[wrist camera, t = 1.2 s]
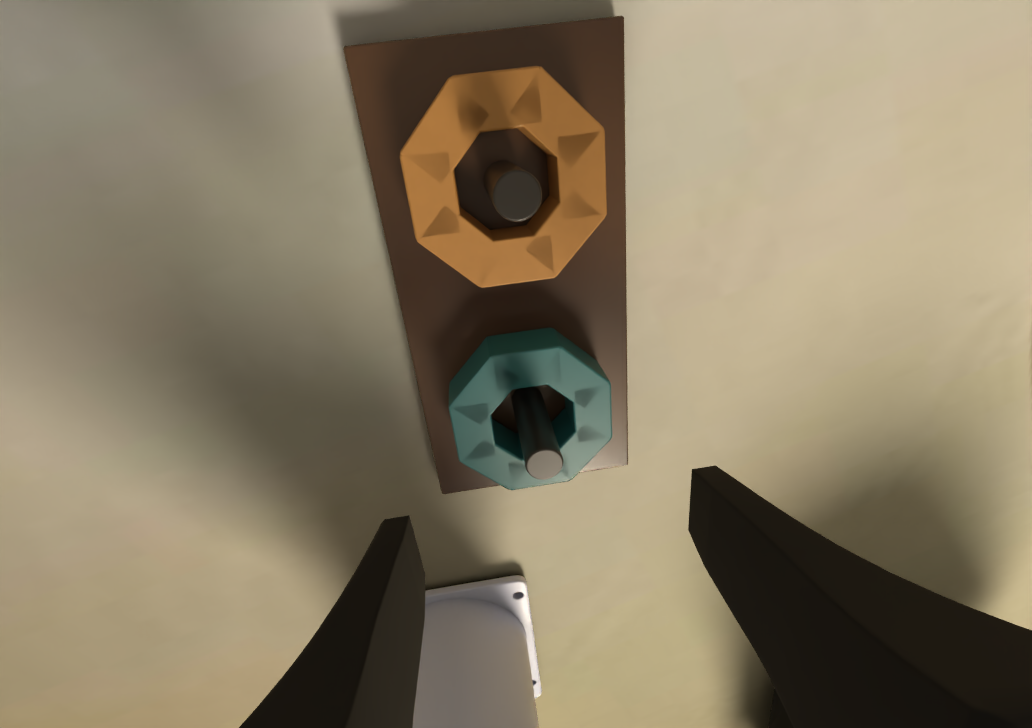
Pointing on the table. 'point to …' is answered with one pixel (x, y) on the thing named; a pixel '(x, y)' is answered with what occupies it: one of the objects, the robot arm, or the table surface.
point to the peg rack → (501, 204)
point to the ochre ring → (570, 162)
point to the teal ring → (523, 366)
